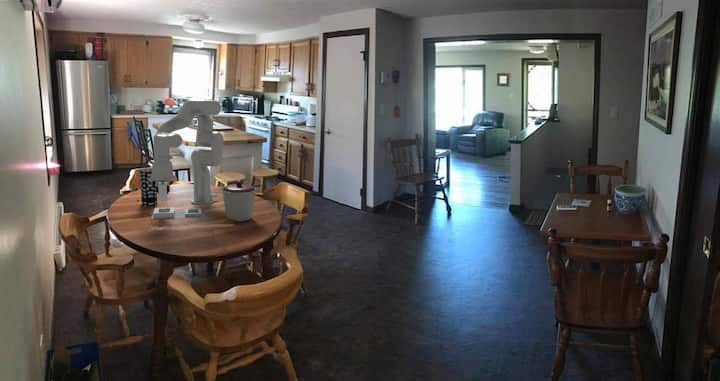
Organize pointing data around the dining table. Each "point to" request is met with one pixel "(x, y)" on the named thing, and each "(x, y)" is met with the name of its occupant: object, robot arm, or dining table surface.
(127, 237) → the dining table surface
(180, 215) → the patch panel
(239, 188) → the canister
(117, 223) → the dining table surface
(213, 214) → the dining table surface
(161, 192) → the plug
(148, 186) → the white-spotted black cylinder
